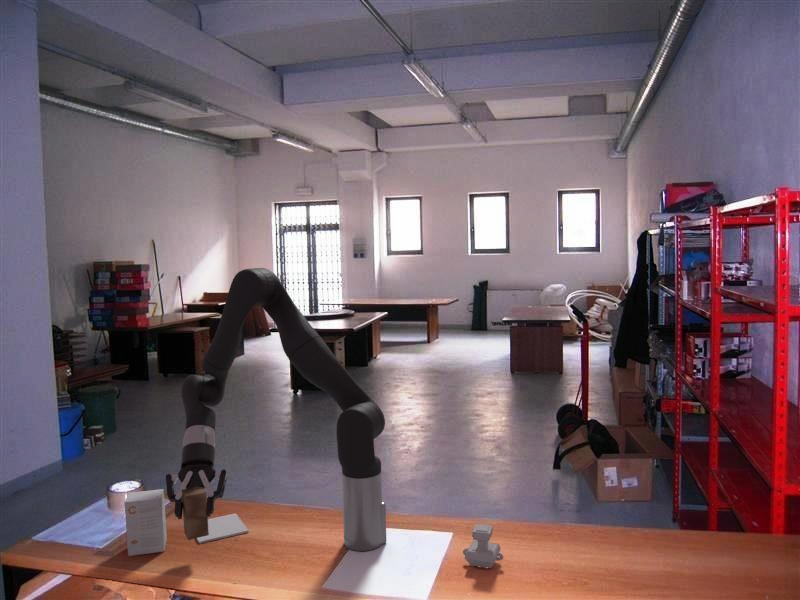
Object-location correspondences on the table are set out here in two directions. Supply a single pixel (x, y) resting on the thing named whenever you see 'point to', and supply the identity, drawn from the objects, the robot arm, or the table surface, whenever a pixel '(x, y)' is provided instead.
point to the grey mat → (223, 528)
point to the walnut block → (195, 512)
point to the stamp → (482, 547)
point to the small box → (145, 522)
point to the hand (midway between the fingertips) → (194, 516)
